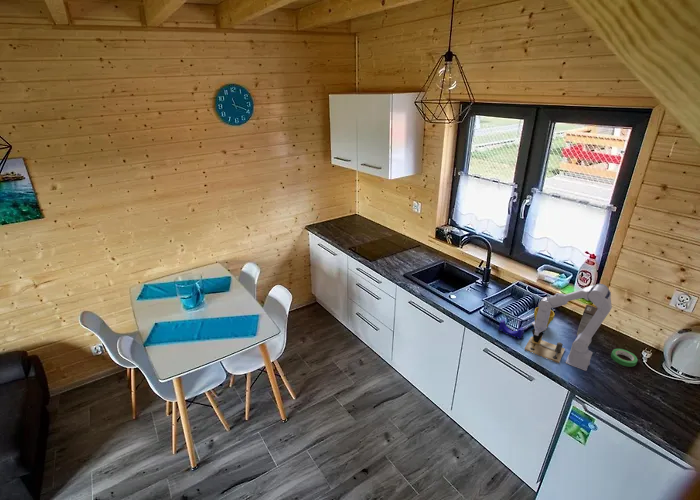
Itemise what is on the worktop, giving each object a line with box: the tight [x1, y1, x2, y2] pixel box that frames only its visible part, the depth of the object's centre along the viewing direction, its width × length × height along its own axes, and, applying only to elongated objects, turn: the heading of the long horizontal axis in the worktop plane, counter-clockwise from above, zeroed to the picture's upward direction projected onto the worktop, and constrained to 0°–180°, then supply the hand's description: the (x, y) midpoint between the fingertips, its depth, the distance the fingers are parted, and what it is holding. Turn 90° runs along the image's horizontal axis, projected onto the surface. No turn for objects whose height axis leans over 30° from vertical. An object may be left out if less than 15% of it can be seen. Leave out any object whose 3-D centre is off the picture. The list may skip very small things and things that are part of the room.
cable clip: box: [498, 319, 525, 340], centre depth 221 cm, size 12×4×6 cm, turn 47°
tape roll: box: [610, 348, 638, 368], centre depth 203 cm, size 11×11×3 cm
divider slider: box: [532, 335, 544, 349], centre depth 209 cm, size 4×8×6 cm, turn 142°
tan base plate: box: [523, 335, 566, 364], centre depth 208 cm, size 17×13×6 cm
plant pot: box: [533, 306, 555, 328], centre depth 227 cm, size 10×10×10 cm
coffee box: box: [576, 304, 598, 336], centre depth 219 cm, size 9×6×16 cm
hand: (536, 339), depth 212 cm, fingers closed on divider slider, 3 cm apart
